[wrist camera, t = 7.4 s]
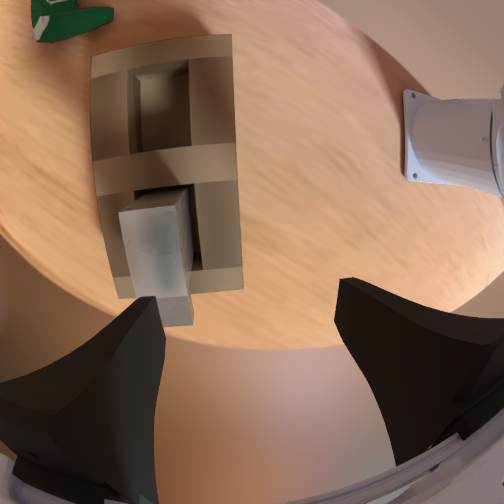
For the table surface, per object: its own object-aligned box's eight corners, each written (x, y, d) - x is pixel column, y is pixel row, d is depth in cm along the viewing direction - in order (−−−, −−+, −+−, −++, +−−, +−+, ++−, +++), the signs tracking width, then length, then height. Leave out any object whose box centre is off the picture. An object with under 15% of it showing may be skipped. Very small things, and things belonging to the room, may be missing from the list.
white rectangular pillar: (189, 184, 17) (174, 205, 10) (198, 265, 19) (193, 325, 12) (153, 188, 16) (118, 212, 10) (164, 268, 18) (144, 328, 12)
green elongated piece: (84, -16, 10) (26, -6, 6) (101, -43, 8) (38, -36, 4) (100, 43, 14) (33, 60, 10) (120, 14, 11) (43, 27, 7)
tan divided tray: (227, 56, 15) (231, 34, 11) (237, 262, 20) (244, 289, 16) (113, 72, 14) (92, 56, 10) (133, 272, 19) (118, 298, 15)
